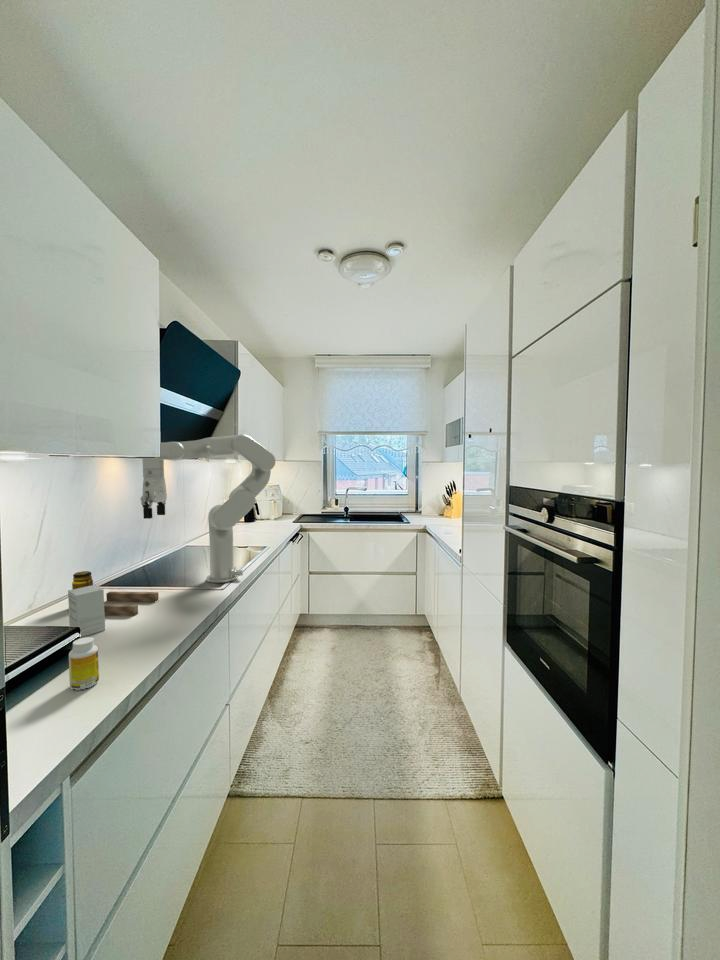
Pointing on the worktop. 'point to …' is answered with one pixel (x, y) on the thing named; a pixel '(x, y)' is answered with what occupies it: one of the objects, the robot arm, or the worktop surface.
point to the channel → (127, 597)
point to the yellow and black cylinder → (82, 579)
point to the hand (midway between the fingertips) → (154, 516)
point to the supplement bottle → (83, 664)
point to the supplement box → (87, 609)
